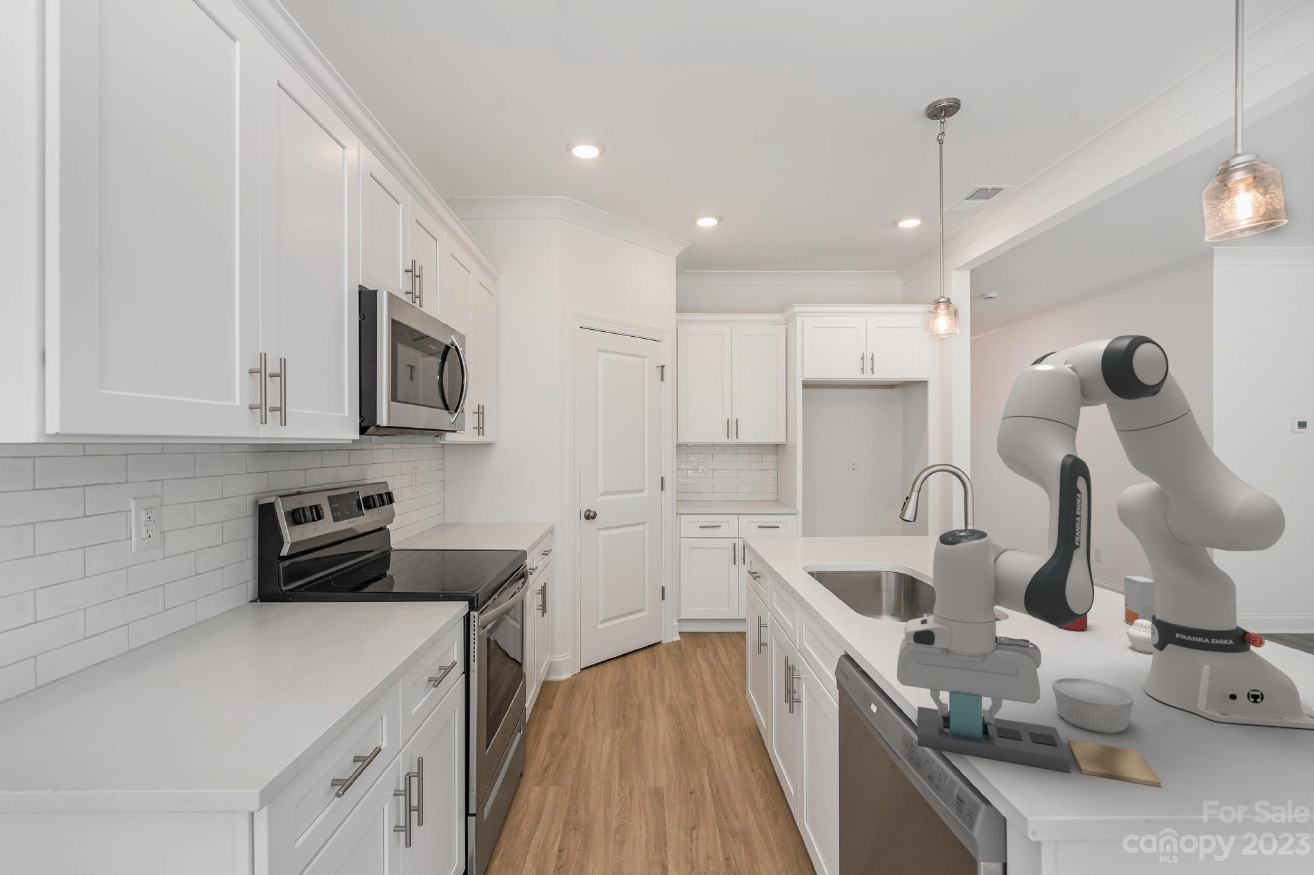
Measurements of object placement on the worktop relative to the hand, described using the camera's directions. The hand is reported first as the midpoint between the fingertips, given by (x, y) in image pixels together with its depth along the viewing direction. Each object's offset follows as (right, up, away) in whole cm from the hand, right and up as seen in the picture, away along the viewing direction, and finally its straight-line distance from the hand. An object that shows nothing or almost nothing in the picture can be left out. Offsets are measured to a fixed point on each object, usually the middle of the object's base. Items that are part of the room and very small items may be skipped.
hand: (965, 719), depth 96 cm
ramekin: (+24, -3, +6) cm, 25 cm away
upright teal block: (0, -3, 0) cm, 3 cm away
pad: (+17, -3, -8) cm, 19 cm away
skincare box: (+71, -2, +54) cm, 90 cm away
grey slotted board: (+3, -3, -1) cm, 4 cm away
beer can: (+54, -3, +54) cm, 76 cm away
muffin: (+59, -3, +38) cm, 70 cm away
